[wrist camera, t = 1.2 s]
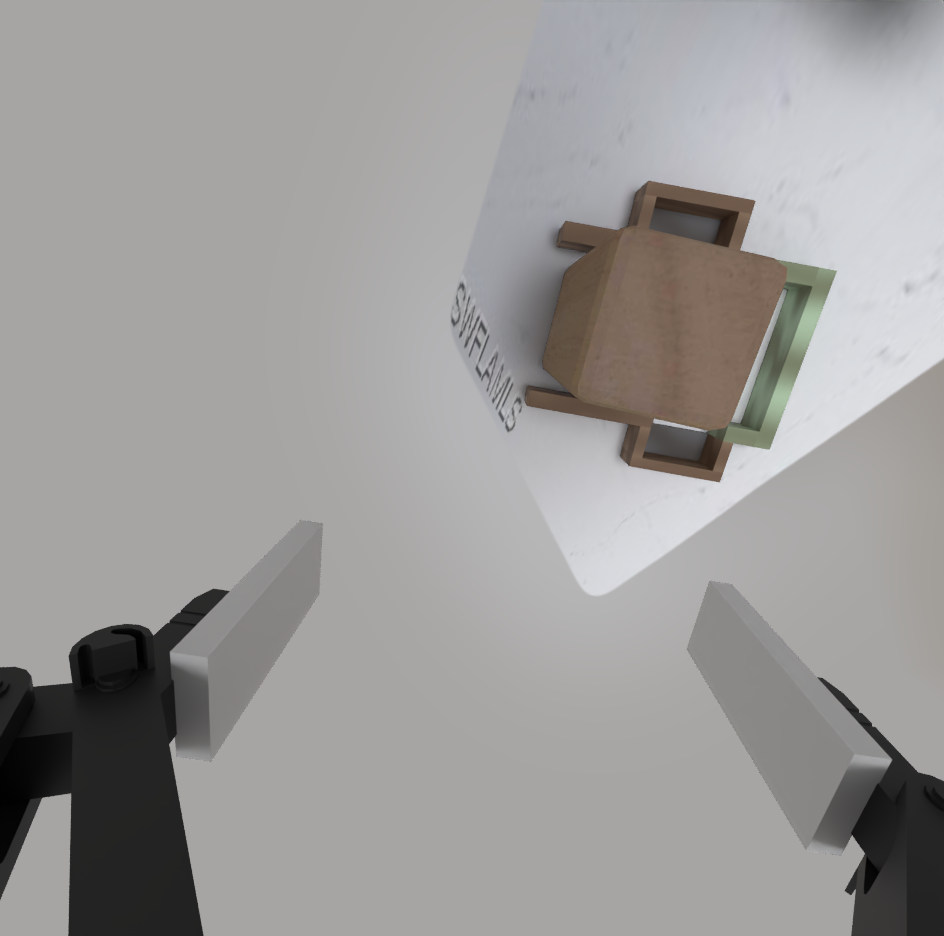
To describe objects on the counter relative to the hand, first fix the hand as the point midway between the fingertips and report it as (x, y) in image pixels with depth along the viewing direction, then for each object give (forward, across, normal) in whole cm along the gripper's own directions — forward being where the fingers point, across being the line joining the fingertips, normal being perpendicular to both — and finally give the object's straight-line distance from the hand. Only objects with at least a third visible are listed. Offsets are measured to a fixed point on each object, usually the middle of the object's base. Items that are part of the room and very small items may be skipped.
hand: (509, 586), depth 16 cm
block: (+34, +9, +9) cm, 36 cm away
